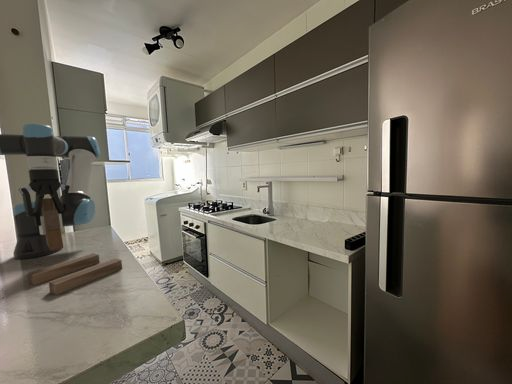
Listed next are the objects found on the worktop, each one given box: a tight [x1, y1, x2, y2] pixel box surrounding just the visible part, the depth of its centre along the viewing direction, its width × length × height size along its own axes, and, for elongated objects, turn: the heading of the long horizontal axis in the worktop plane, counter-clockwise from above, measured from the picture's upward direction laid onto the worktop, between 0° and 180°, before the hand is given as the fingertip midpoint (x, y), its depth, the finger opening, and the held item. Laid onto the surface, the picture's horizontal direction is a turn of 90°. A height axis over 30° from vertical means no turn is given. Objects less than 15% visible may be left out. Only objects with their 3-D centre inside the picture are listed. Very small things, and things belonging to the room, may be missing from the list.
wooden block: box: [41, 196, 64, 251], centre depth 79 cm, size 4×11×18 cm, turn 49°
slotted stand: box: [27, 252, 123, 296], centre depth 71 cm, size 18×18×3 cm
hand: (51, 232), depth 80 cm, fingers closed on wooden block, 4 cm apart
